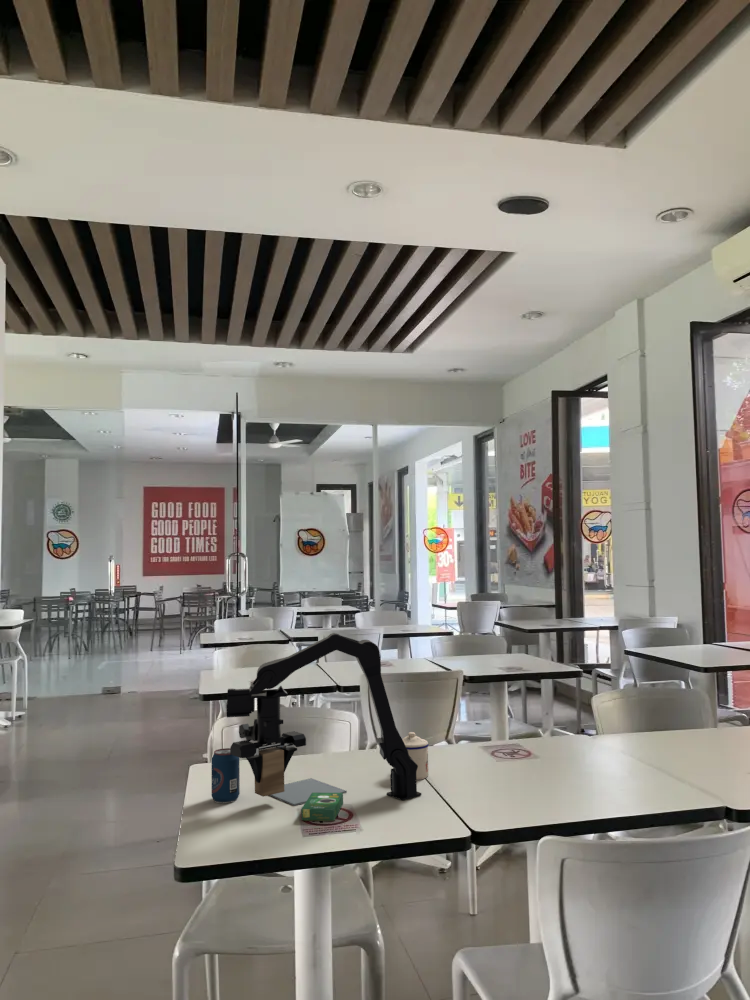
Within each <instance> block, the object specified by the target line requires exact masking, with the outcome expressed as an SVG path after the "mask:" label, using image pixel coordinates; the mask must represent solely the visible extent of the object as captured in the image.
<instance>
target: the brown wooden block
mask: <svg viewBox="0 0 750 1000" xmlns="http://www.w3.org/2000/svg"><path fill="white" fill-rule="evenodd" d="M259 755H261V756H262V770H261V780H260V783H257V782H256V779H255V778H254V794H256V795H258V796H261V797H268V796H270V795H272V794H276V793H280V792H284V784H285V772H284V750H282V749H279V748H276V747H272V748H267V749H262V750H259Z"/></svg>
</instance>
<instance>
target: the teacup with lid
mask: <svg viewBox="0 0 750 1000" xmlns="http://www.w3.org/2000/svg"><path fill="white" fill-rule="evenodd" d="M402 740H403V742H404V744H405V746H406V748H407V750H408V753H409V756H410V757H411V758H412V759H413V760H414V762H415V763H416V764H417V765H418V768H417V771H416V781H417V780H423V779H427V778H428V776H429V750H428V749H429V742H428V740H426V739H424V738H421V737H420V736H417V735H416V733H415V732H413V731H410V732H408V733H407V736H404V737H403V738H402Z"/></svg>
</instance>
